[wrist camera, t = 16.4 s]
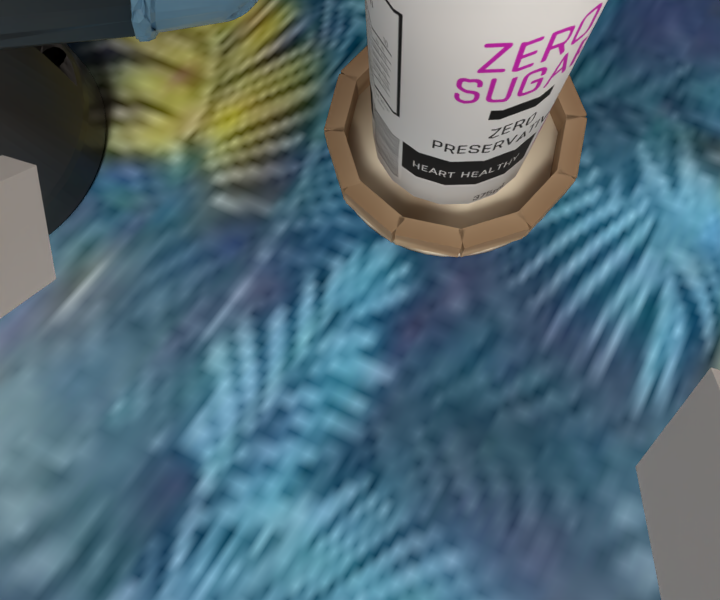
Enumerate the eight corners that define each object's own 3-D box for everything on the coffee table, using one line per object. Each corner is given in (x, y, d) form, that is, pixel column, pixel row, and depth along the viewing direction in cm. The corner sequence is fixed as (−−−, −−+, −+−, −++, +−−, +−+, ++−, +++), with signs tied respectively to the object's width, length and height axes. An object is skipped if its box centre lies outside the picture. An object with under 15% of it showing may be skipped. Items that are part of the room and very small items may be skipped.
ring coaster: (306, 229, 30) (300, 215, 28) (362, 23, 32) (360, -4, 30) (548, 280, 28) (561, 269, 26) (587, 60, 31) (601, 35, 29)
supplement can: (435, 45, 31) (476, -292, 16) (557, 127, 29) (723, -162, 15) (343, 149, 30) (297, -110, 15) (464, 240, 28) (544, 49, 14)
